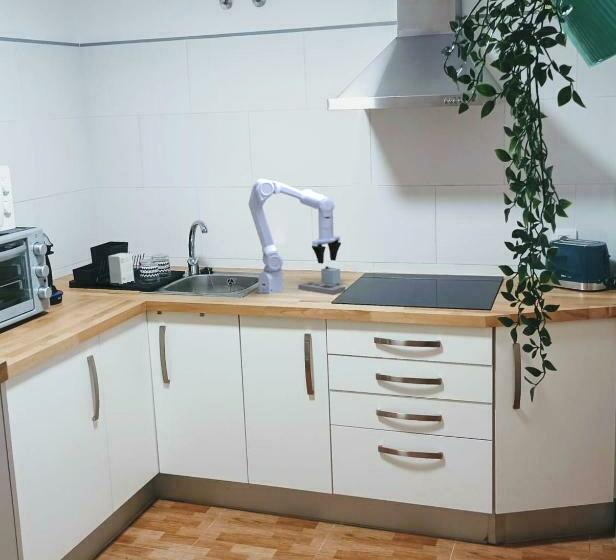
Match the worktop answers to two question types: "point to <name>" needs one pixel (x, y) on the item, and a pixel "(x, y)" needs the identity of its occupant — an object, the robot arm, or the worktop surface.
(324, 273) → the block
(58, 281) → the worktop surface
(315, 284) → the grey control panel
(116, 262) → the small box
